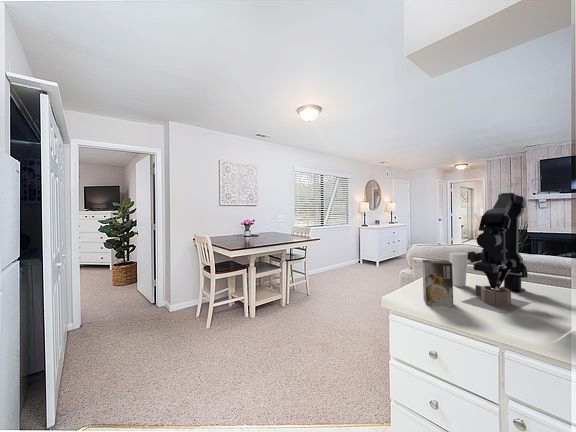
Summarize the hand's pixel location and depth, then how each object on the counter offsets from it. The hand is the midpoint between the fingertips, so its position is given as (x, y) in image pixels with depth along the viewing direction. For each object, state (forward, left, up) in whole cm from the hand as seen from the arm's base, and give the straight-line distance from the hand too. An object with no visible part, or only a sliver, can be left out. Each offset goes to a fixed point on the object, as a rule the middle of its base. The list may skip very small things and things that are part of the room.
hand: (495, 287), depth 97 cm
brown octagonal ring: (0, -1, -5) cm, 6 cm away
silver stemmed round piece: (0, 0, -5) cm, 5 cm away
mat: (0, 0, -6) cm, 6 cm away
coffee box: (+18, -11, -6) cm, 22 cm away
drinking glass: (-11, -19, -6) cm, 23 cm away
